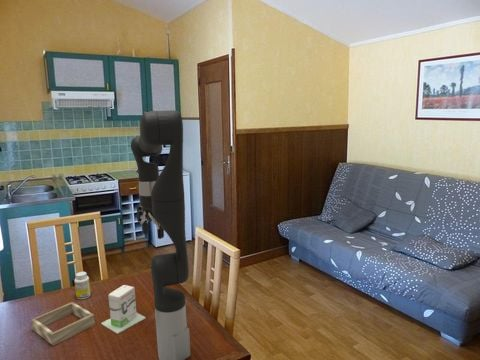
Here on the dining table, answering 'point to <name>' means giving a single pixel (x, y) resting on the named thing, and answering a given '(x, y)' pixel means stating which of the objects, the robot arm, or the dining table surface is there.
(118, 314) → the ink box
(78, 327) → the frame
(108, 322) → the sage mat
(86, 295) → the supplement bottle
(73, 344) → the dining table surface
